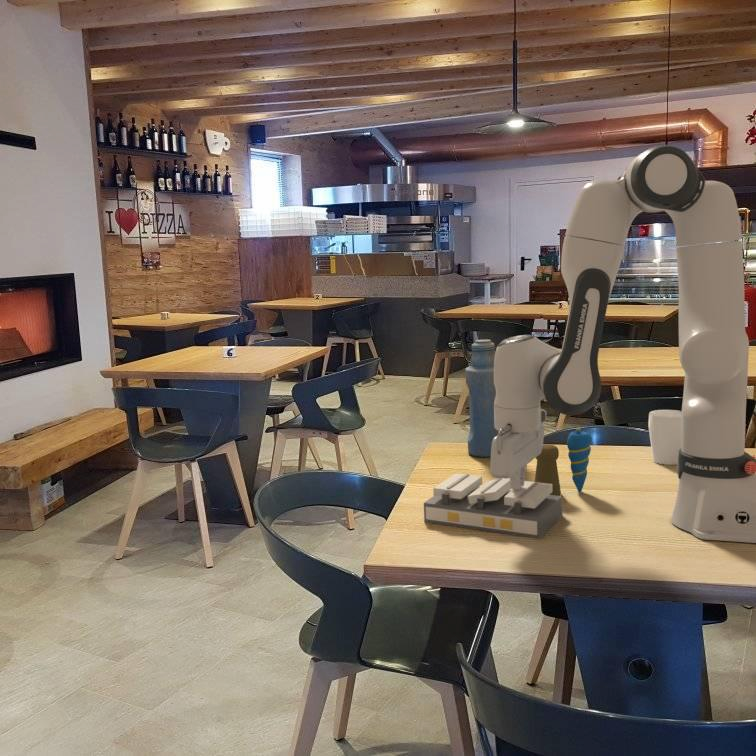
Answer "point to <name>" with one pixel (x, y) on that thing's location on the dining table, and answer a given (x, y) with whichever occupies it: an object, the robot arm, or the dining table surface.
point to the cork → (548, 468)
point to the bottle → (481, 398)
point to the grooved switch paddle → (458, 485)
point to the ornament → (579, 455)
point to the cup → (665, 435)
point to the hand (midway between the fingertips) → (517, 487)
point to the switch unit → (494, 514)
